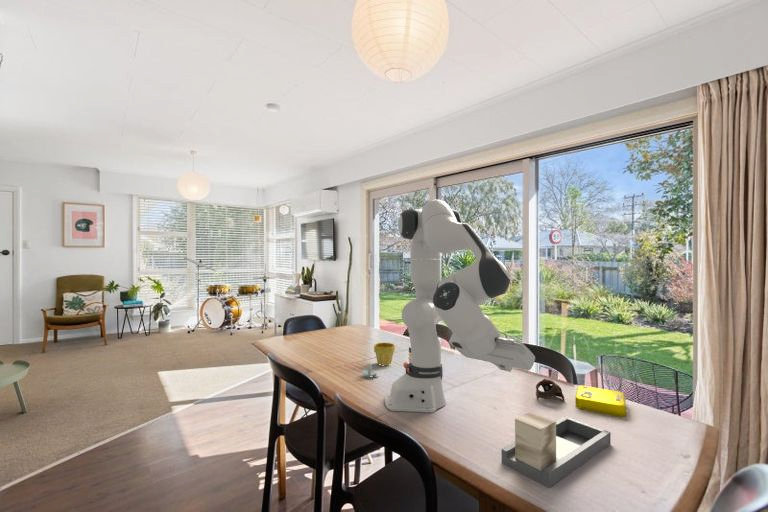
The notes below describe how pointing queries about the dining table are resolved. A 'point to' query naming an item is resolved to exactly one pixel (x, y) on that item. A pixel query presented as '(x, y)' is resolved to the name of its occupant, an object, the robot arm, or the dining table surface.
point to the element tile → (601, 401)
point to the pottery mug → (548, 390)
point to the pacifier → (368, 371)
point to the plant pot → (384, 353)
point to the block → (535, 440)
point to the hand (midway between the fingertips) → (506, 368)
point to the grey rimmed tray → (563, 451)
